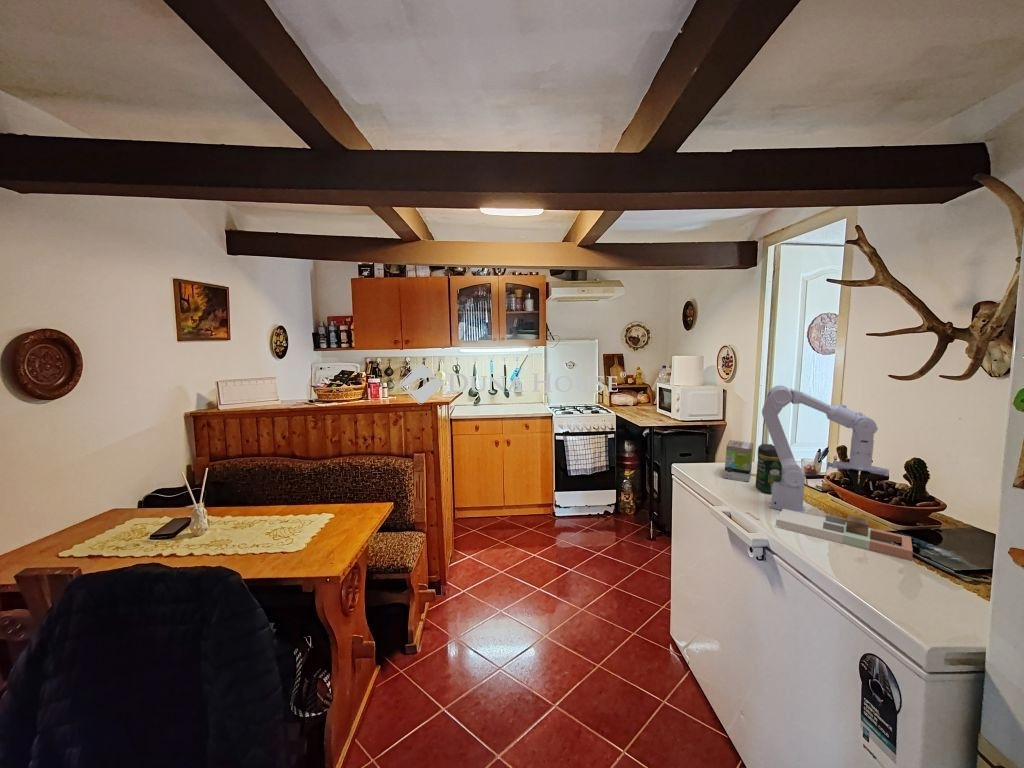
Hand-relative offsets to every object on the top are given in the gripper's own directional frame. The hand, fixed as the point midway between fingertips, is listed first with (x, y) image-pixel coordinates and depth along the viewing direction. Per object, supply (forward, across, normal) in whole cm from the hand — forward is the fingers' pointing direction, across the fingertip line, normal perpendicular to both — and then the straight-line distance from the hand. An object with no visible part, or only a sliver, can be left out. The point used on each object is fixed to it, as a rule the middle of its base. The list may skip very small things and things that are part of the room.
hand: (857, 492), depth 142 cm
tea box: (+10, -42, +26) cm, 50 cm away
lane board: (+9, -3, -19) cm, 21 cm away
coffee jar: (+10, -28, +13) cm, 32 cm away
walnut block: (+7, +1, -19) cm, 20 cm away
